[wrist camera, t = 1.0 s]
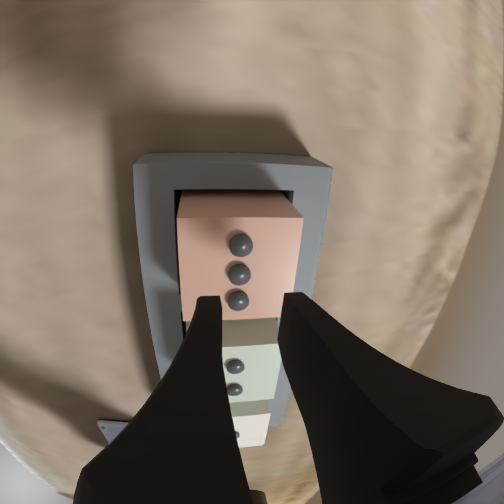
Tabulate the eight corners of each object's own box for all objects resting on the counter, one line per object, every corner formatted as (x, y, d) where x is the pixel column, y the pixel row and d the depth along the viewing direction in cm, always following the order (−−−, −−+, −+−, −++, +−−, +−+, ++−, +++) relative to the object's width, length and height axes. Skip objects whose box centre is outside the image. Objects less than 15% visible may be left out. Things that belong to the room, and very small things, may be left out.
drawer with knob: (255, 405, 23) (264, 446, 20) (197, 408, 22) (200, 452, 19) (259, 369, 21) (271, 415, 17) (193, 372, 20) (195, 421, 17)
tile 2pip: (261, 353, 20) (274, 401, 17) (191, 356, 19) (193, 406, 16) (268, 296, 18) (285, 345, 14) (186, 299, 17) (186, 351, 14)
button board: (273, 399, 26) (281, 425, 23) (174, 405, 24) (174, 433, 21) (311, 156, 16) (333, 167, 14) (144, 153, 15) (132, 164, 12)
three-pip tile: (270, 272, 17) (290, 319, 14) (184, 274, 17) (183, 324, 13) (279, 189, 15) (305, 219, 12) (182, 189, 14) (176, 220, 11)
